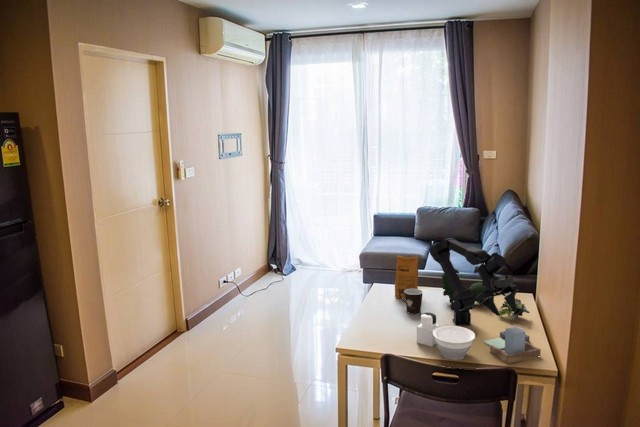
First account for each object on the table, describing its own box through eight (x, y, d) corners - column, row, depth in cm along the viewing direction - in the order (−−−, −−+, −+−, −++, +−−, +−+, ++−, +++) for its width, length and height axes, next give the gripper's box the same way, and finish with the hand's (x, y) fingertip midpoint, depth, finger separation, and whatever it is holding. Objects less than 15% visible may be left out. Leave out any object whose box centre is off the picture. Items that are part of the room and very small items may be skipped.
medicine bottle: (424, 336, 208) (424, 309, 206) (440, 340, 204) (440, 313, 202) (416, 342, 203) (416, 315, 201) (432, 347, 199) (432, 318, 196)
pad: (483, 342, 201) (483, 341, 201) (499, 339, 204) (499, 337, 203) (496, 350, 194) (496, 349, 193) (513, 346, 196) (513, 345, 196)
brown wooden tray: (490, 352, 192) (490, 345, 192) (520, 345, 197) (520, 338, 196) (508, 364, 182) (508, 356, 182) (540, 356, 187) (540, 349, 187)
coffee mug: (426, 313, 234) (426, 292, 232) (410, 316, 231) (410, 295, 229) (413, 305, 245) (412, 285, 243) (397, 308, 242) (397, 288, 240)
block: (504, 352, 191) (505, 328, 190) (515, 350, 193) (516, 326, 191) (513, 358, 187) (514, 333, 185) (524, 356, 188) (525, 331, 187)
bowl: (426, 357, 190) (426, 337, 188) (440, 342, 203) (441, 322, 201) (467, 368, 181) (467, 346, 179) (480, 350, 194) (480, 330, 192)
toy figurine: (443, 309, 243) (497, 308, 236) (440, 272, 240) (494, 269, 233) (444, 302, 252) (496, 301, 245) (441, 266, 249) (493, 264, 242)
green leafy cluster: (515, 327, 227) (532, 308, 224) (513, 332, 218) (531, 312, 214) (495, 310, 231) (512, 291, 228) (492, 314, 222) (509, 294, 219)
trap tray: (499, 336, 206) (500, 332, 205) (515, 333, 208) (515, 328, 208) (513, 344, 198) (513, 339, 198) (529, 341, 201) (529, 336, 200)
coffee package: (397, 292, 264) (396, 252, 260) (420, 295, 259) (420, 254, 255) (392, 298, 255) (392, 257, 251) (416, 301, 250) (416, 259, 246)
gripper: (483, 273, 193) (502, 310, 186) (517, 265, 201) (537, 301, 194) (467, 285, 201) (485, 320, 195) (501, 277, 209) (519, 311, 203)
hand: (507, 313), depth 196 cm, fingers open, 9 cm apart
